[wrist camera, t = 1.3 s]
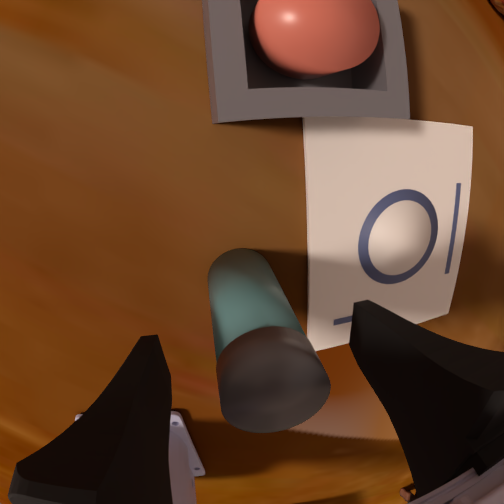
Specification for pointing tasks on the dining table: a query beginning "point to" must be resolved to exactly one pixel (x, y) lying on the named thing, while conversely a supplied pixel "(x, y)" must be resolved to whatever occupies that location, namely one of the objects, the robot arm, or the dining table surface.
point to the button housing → (300, 90)
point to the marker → (261, 348)
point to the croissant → (498, 5)
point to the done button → (313, 35)
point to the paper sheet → (383, 218)
